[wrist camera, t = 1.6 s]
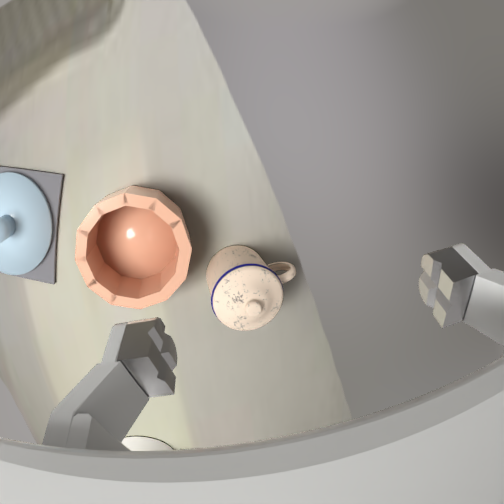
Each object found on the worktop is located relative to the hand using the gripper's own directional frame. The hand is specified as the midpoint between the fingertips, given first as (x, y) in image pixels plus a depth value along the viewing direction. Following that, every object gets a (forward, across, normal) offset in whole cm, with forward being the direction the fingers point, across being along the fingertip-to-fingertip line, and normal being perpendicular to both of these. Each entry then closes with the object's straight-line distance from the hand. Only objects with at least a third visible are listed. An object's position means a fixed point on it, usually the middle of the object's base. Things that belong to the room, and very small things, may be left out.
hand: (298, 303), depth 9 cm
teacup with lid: (+32, -4, -20) cm, 38 cm away
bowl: (+31, -17, -11) cm, 37 cm away
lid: (+29, -35, -2) cm, 45 cm away
